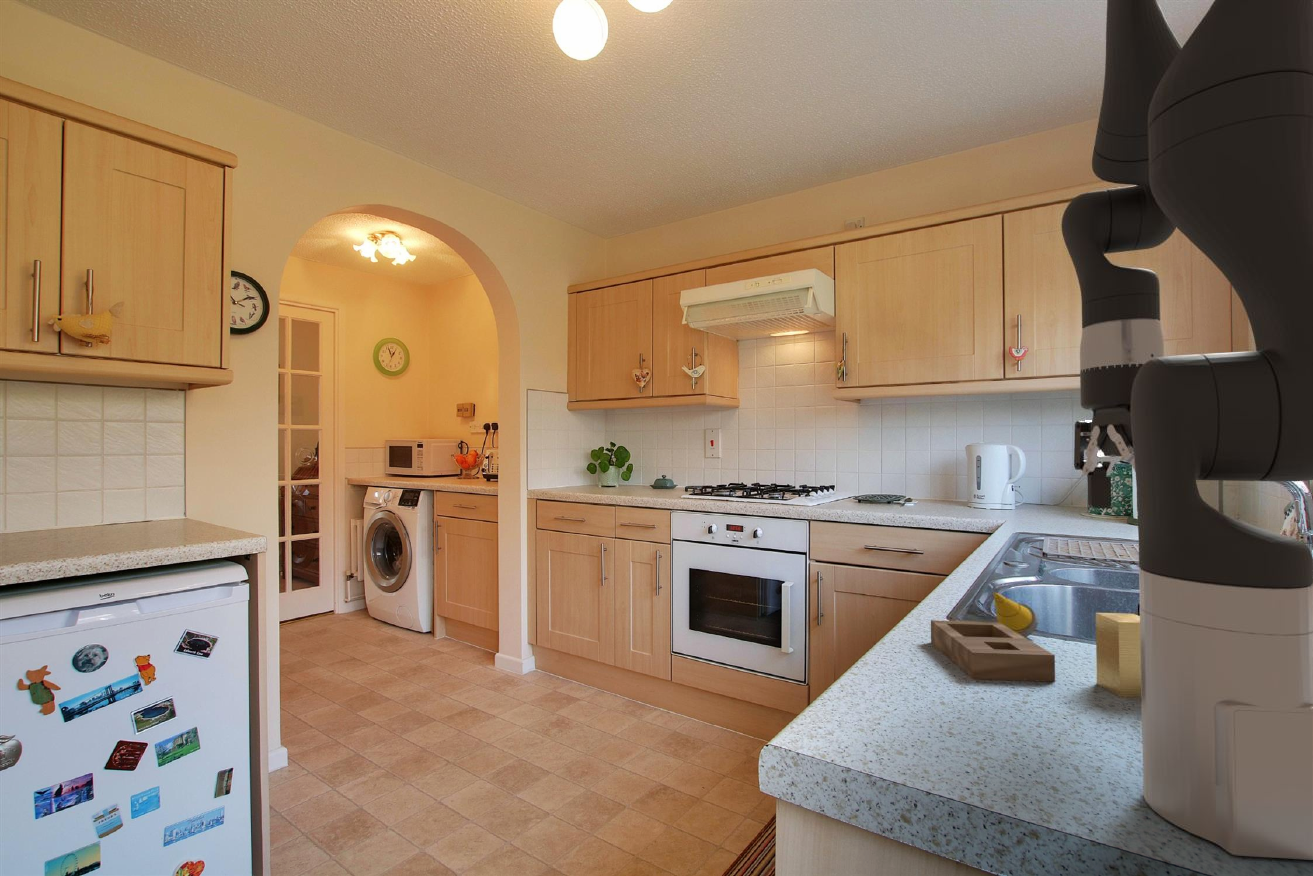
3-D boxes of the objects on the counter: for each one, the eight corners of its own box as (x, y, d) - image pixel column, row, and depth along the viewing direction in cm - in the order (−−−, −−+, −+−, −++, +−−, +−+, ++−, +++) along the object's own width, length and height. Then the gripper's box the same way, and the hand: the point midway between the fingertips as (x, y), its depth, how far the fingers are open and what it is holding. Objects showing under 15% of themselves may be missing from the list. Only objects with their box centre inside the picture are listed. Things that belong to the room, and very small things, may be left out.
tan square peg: (1159, 698, 66) (1158, 623, 66) (1119, 697, 66) (1118, 622, 66) (1134, 684, 70) (1133, 613, 70) (1096, 683, 70) (1095, 612, 70)
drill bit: (1051, 645, 86) (1018, 601, 82) (1011, 655, 88) (977, 612, 85) (1041, 614, 90) (1009, 571, 87) (1004, 624, 93) (971, 583, 89)
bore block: (1055, 681, 71) (1054, 655, 71) (972, 678, 71) (972, 652, 71) (999, 644, 84) (998, 622, 85) (930, 642, 85) (930, 620, 85)
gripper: (1207, 355, 61) (1211, 518, 61) (1115, 373, 76) (1117, 506, 75) (1127, 356, 62) (1130, 517, 62) (1050, 374, 76) (1052, 505, 76)
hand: (1123, 511), depth 68 cm, fingers open, 8 cm apart
